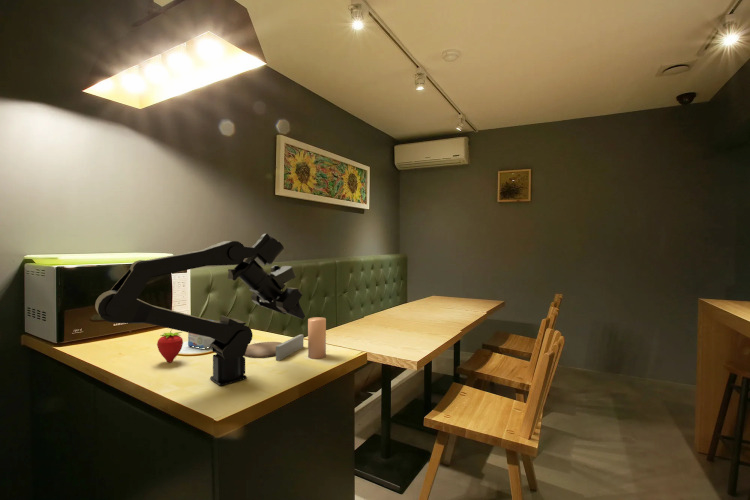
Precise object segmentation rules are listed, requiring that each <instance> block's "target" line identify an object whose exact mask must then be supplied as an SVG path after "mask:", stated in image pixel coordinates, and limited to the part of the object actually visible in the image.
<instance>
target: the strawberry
mask: <svg viewBox="0 0 750 500" xmlns="http://www.w3.org/2000/svg"><path fill="white" fill-rule="evenodd" d="M181 333H183V331H179V332H177V331H176V332H174V333H173V332H172V330H170V332H163V334H160V337H159V339H157V343H156V346H157V350H158V352H159V353H160V354H161V357H163V358H164V359H165V361H166V362H167V363H169V364H171V363H172V362H173V361H174V360H175V359H176V358H177V356H178V355H179V353H180V352H181V350H182V348H183V345H184V340H183V337H182V336H181V335H180V334H181Z"/></svg>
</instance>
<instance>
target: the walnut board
mask: <svg viewBox="0 0 750 500" xmlns="http://www.w3.org/2000/svg"><path fill="white" fill-rule="evenodd" d="M281 343H282V342H279V341H263V342H262V341H261V342H257V343H255V342H254V343H250V344H249V345H248V346H247V349H246V352H245V355H244V356H243V357H245V358H246V357H247V358H251V359H252V358H255V359H256V358H257V359H262V358H270V357H276V346H277V345H279V344H281Z"/></svg>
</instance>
